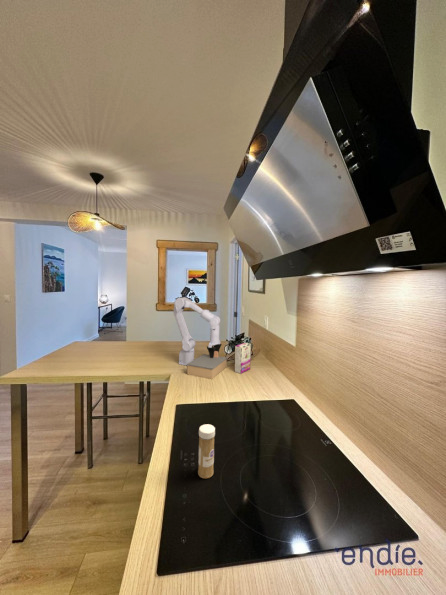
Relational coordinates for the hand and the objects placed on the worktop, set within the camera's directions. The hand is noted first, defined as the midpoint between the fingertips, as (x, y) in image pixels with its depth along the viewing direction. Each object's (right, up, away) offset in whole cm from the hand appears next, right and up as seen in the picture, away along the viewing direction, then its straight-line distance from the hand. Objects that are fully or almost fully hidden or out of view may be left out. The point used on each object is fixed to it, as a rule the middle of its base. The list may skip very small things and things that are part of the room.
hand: (214, 356), depth 163 cm
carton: (-4, -7, -8) cm, 11 cm away
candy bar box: (+18, -8, -6) cm, 20 cm away
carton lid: (-3, -1, -8) cm, 9 cm away
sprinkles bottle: (+1, -13, -90) cm, 91 cm away
